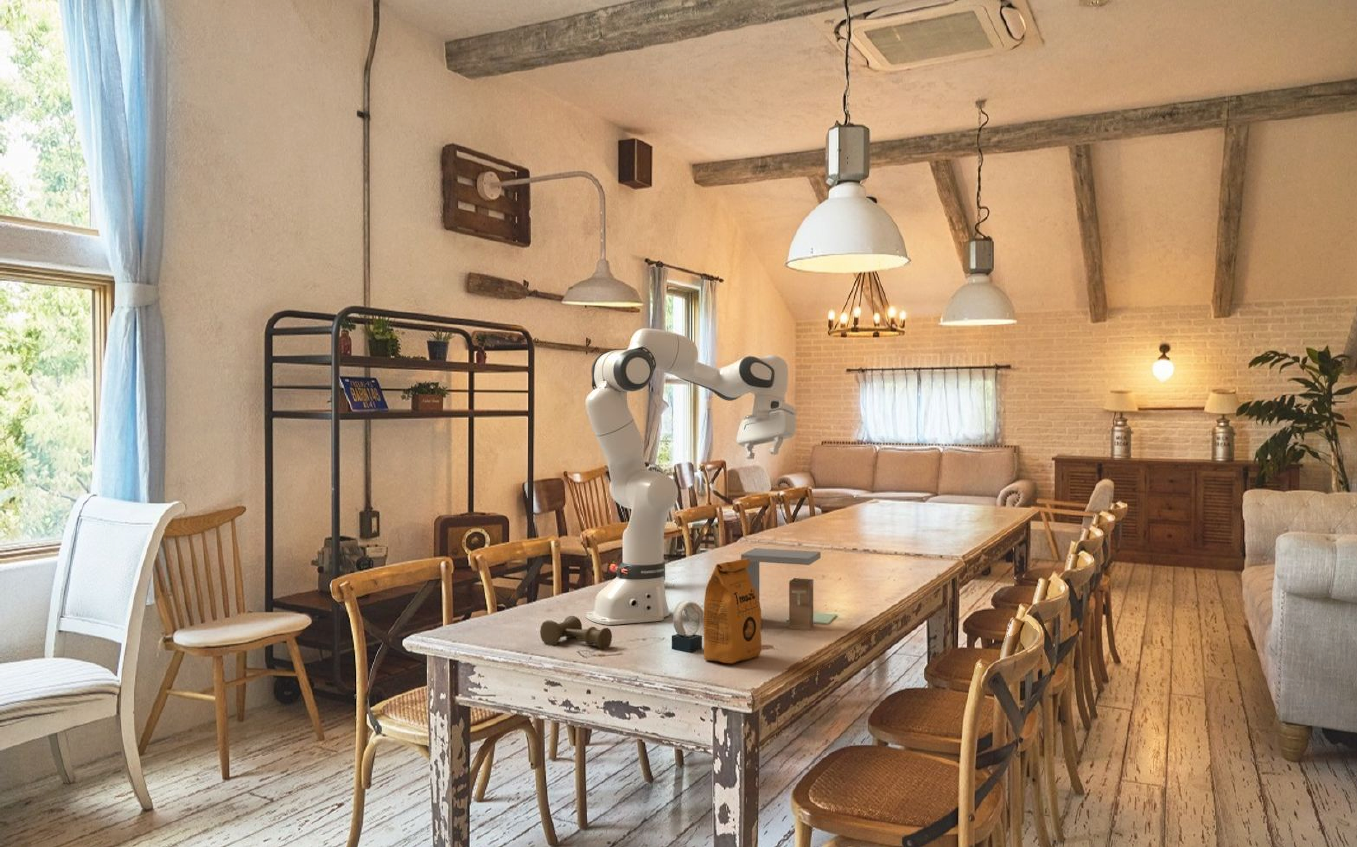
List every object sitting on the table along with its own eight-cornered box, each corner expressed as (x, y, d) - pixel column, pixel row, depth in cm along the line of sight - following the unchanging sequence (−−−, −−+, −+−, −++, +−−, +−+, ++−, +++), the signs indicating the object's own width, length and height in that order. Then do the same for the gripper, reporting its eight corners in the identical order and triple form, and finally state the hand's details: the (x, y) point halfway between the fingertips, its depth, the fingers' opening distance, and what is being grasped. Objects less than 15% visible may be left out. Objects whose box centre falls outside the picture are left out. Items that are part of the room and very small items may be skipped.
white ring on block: (707, 647, 220) (707, 600, 220) (685, 654, 214) (685, 605, 214) (688, 643, 224) (688, 597, 224) (666, 650, 218) (666, 602, 217)
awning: (755, 617, 251) (755, 548, 251) (820, 623, 244) (820, 551, 244) (741, 627, 240) (741, 554, 240) (809, 633, 233) (809, 558, 233)
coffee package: (768, 658, 211) (768, 559, 210) (730, 669, 202) (730, 566, 202) (735, 650, 218) (735, 554, 217) (697, 660, 209) (697, 561, 209)
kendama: (593, 656, 215) (527, 641, 226) (619, 648, 223) (554, 634, 234) (594, 629, 215) (528, 616, 226) (620, 623, 223) (554, 610, 234)
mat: (796, 612, 258) (796, 611, 258) (836, 615, 253) (836, 614, 253) (786, 621, 247) (786, 619, 247) (827, 624, 243) (827, 623, 243)
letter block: (794, 624, 243) (794, 578, 243) (813, 626, 242) (813, 579, 241) (789, 628, 239) (789, 581, 238) (808, 630, 237) (808, 582, 237)
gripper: (735, 413, 276) (728, 457, 272) (786, 400, 261) (779, 447, 256) (750, 420, 280) (744, 464, 275) (801, 408, 264) (795, 455, 260)
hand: (761, 456), depth 266 cm, fingers open, 8 cm apart
